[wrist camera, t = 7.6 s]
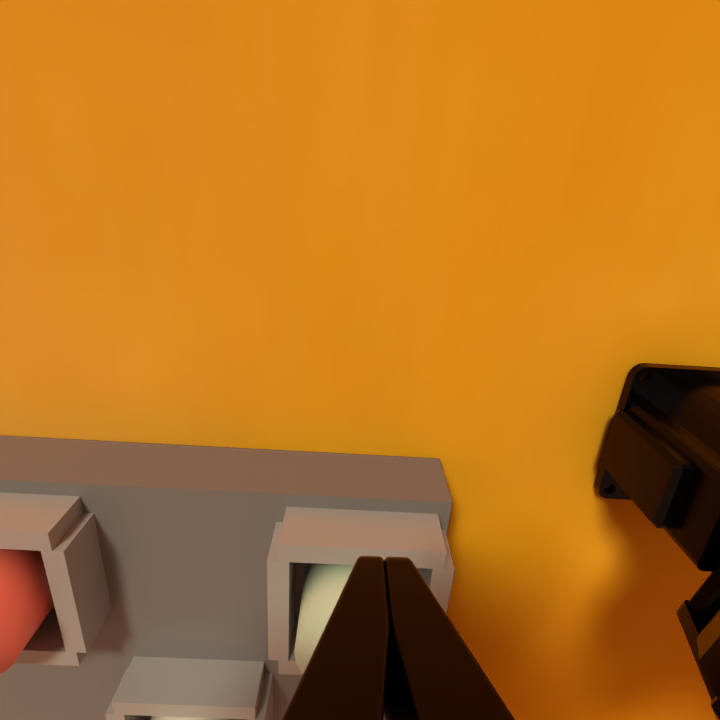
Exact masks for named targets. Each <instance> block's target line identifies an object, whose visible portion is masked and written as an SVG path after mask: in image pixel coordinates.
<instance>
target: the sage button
mask: <svg viewBox="0 0 720 720" xmlns="http://www.w3.org/2000/svg"><path fill="white" fill-rule="evenodd" d="M353 567H354V565H340V564H318V563H310V564H309V566H308V568H307V570H306V572H305V576H304V583H303V590H302V598H301V605H300V612H299V620H298V627H297V635H296V642H295V650H294V653H295V659H296V663H297V665H298V667H299V669H300V670H301V672H302V673H304V671H305V669H306V667H307V665H308V663H309V661H310V658H311V656H312V654H313V652H314V650H315V648H316V646H317V644H318V641H319V639H320V637H321V635H322V633H323V631H324V629H325V626H326V624H327V622H328V620H329V618H330V616H331V614H332V612H333V609H334V607H335V605H336V603H337V601H338V599H339V597H340V594H341V592H342V590H343V588H344V586H345V584H346V582H347V580H348V577H349V575H350V573H351V571H352V569H353Z"/></svg>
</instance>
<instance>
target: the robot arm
mask: <svg viewBox="0 0 720 720" xmlns="http://www.w3.org/2000/svg"><path fill="white" fill-rule="evenodd" d="M644 373H647V375H646V376H645V378H643V379H642V380H640V377H641V375H642V374H644ZM600 461H601V465H600V468H599V472H598V475H597V478H596V481H595V488H596V490H597V491H598V493H599V494H600V495H601V496H602V497H604V498H612V499H632V500H633V501H634V503H635V504H636V505H637V506H638V507H639V509H640V510H641V511H642V512H643V513H644V514H645V516H646V517H647V518H648V519H649V520H650V522H651V523H652V524H653V525H654V526H655V527H656V528H664V530H665V531H666V532H667V533H668V534H669V535H670V537H671V538H672V539H673V540H674V541H675V542H676V543H677V545H678V546H679V547H680V548H681V549H682V550H683V552H684V553H685V554H686V555H687V556H688V557H689V558H690V560H691V561H692V562H693V563H694V564H695V565H696V566H697V568H698V569H699V570H701V571H711V572H712V573H711V574H710V576H709V577H708V578H707V579H706V581H705V582H704V583H703V584H702V585H701V587H700V588H699V589H698V590H697V592H696V593H695V594H694V595H693V597H692V598H691V599H690V600H685V601H684V602H683V604H682V605H681V606H680V607H679V609H678V610H677V611H676V612H677V615H678V618H679V620H680V623H681V625H682V628H683V630H684V633H685V635H686V638H687V640H688V643H689V645H690V648H691V650H692V653H693V655H694V658H695V660H696V662H697V665H698V667H699V670H700V672H701V675H702V677H703V680H704V682H705V685H706V687H707V690H708V692H709V695H710V697H711V700H712V701H711V706H712V709H713V711H714V714H715V716H716V718H717V720H720V368H717V367H700V366H683V365H666V364H649V363H642V364H638V365H636V366H634V367H633V368H632V369H631V370H630V372H629V374H628V377H627V381H626V384H625V387H624V390H623V394H622V397H621V400H620V403H619V407H618V410H617V412H616V413H615V415H614V418H613V421H612V424H611V427H610V431H609V434H608V437H607V440H606V444H605V447H604V450H603V453H602V457H601V460H600ZM608 485H610V486H609V487H608V488H605V487H606V486H608ZM383 719H384V720H515V719H514V718H513V716H512V714H511V713H510V711H509V710H508V708H507V707H506V705H505V704H504V702H503V701H502V699H501V697H500V696H499V694H498V693H497V691H496V690H495V688H494V687H493V685H492V684H491V682H490V681H489V679H488V677H487V676H486V674H485V673H484V671H483V670H482V668H481V667H480V665H479V664H478V662H477V660H476V659H475V657H474V656H473V654H472V653H471V651H470V650H469V648H468V647H467V645H466V644H465V642H464V640H463V639H462V637H461V636H460V634H459V633H458V631H457V630H456V628H455V627H454V625H453V623H452V622H451V620H450V619H449V617H448V616H447V614H446V613H445V611H444V610H443V608H442V606H441V605H440V603H439V602H438V600H437V599H436V597H435V596H434V594H433V593H432V591H431V590H430V588H429V586H428V585H427V583H426V582H425V580H424V579H423V577H422V576H421V574H420V573H419V571H418V569H417V568H416V566H415V565H414V563H413V562H412V560H411V559H409V558H408V557H386V558H385V560H383V558H382V557H380V556H360V557H359V558H358V559H357V560H356V562H355V565H354V567H353V569H352V571H351V573H350V575H349V577H348V580H347V582H346V584H345V586H344V588H343V590H342V592H341V594H340V597H339V599H338V601H337V603H336V605H335V607H334V609H333V612H332V614H331V616H330V618H329V620H328V622H327V624H326V626H325V629H324V631H323V633H322V635H321V637H320V639H319V641H318V644H317V646H316V648H315V650H314V652H313V654H312V656H311V658H310V661H309V663H308V665H307V667H306V669H305V671H304V673H303V676H302V678H301V680H300V682H299V684H298V686H297V688H296V690H295V693H294V695H293V697H292V699H291V701H290V703H289V705H288V708H287V710H286V712H285V714H284V716H283V718H282V720H383Z"/></svg>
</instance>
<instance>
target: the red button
mask: <svg viewBox="0 0 720 720" xmlns="http://www.w3.org/2000/svg"><path fill="white" fill-rule="evenodd" d="M53 606H54V602H53V598H52V594H51V590H50V586H49V582H48V578H47V574H46V570H45V566H44V563H43V559H42V555H41V551H35V550H13V549H0V674H2V673H3V672H5V671H6V670H8V669H9V668H10V667H11V666H12V664H13V663H14V662H15V660H16V659H17V657H18V656H19V654H20V653H21V652H22V650H23V649H24V647H25V646H26V645H27V643H28V642H29V640H30V639H31V638H32V636H33V635H34V633H35V632H36V630H37V629H38V628H39V626H40V625H41V623H42V622H43V621H44V619H45V618H46V616H47V615H48V614H49V612H50V611H51V609H52V608H53Z"/></svg>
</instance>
